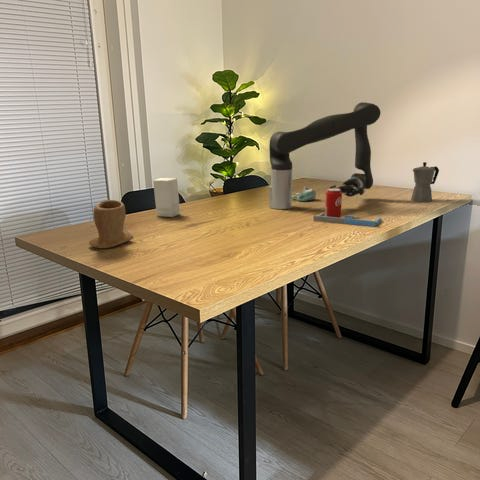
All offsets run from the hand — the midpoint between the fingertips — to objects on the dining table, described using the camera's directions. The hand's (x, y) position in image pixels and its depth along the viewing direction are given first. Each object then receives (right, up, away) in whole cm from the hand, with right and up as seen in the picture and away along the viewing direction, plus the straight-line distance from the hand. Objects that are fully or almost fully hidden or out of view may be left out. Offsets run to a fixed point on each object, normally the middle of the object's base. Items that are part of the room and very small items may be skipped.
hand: (342, 192), depth 196 cm
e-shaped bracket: (0, -12, -10) cm, 16 cm away
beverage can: (-6, -11, -7) cm, 15 cm away
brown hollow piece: (-85, -21, -38) cm, 96 cm away
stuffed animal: (-12, -1, +32) cm, 34 cm away
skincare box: (-74, -9, +4) cm, 74 cm away
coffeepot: (+44, -1, +26) cm, 51 cm away
